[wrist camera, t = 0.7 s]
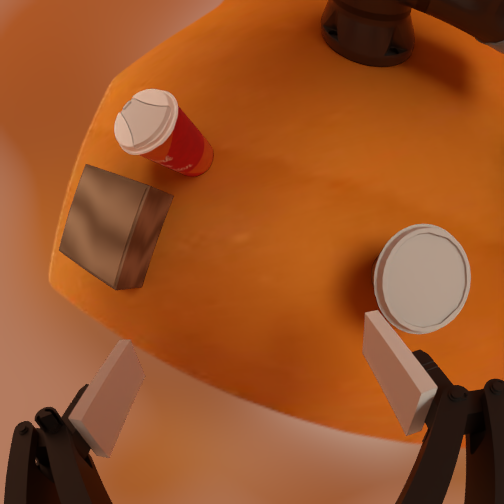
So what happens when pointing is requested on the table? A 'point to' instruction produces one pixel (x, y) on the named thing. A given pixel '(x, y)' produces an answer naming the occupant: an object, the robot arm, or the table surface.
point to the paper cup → (162, 133)
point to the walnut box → (114, 227)
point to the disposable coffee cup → (421, 279)
